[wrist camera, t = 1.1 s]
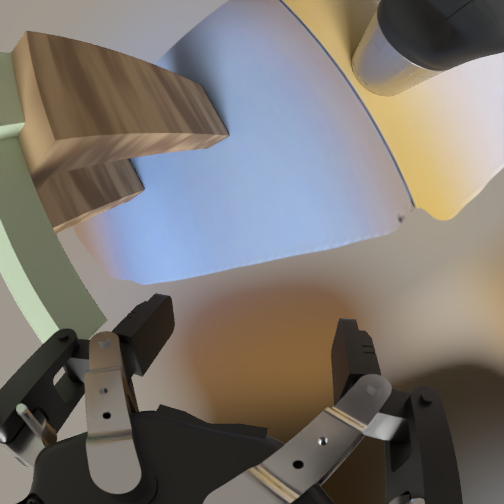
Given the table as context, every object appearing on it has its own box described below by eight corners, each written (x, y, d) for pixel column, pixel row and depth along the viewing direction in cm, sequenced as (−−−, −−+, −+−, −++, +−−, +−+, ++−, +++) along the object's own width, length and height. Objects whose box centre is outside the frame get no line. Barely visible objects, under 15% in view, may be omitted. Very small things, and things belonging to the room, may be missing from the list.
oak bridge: (200, 84, 36) (26, 30, 7) (229, 135, 39) (55, 140, 10) (107, 156, 44) (-46, 199, 15) (130, 200, 46) (-19, 276, 17)
